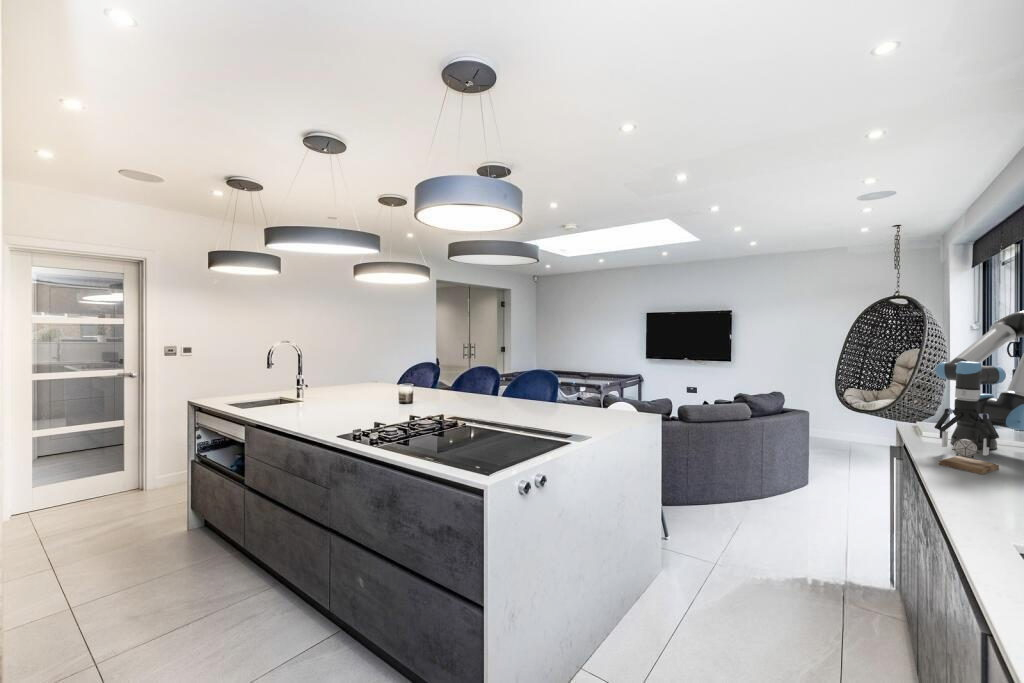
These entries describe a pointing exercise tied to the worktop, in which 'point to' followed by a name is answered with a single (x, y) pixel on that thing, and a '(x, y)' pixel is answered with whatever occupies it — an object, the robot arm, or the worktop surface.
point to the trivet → (969, 464)
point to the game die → (965, 447)
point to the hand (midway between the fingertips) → (964, 450)
